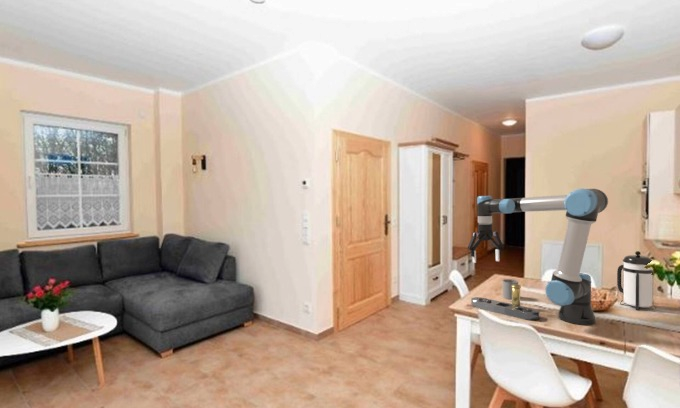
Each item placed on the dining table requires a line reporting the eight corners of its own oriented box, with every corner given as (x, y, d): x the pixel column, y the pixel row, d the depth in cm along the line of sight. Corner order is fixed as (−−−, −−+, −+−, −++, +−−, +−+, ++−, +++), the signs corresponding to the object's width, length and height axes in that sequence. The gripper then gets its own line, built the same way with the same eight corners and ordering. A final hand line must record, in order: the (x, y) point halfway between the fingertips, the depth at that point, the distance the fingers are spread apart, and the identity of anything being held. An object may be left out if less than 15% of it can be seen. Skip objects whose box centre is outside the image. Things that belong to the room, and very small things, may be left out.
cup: (500, 297, 215) (500, 281, 215) (505, 294, 221) (505, 278, 221) (515, 300, 209) (515, 283, 209) (520, 297, 215) (520, 280, 215)
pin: (522, 307, 197) (522, 285, 196) (518, 309, 194) (518, 287, 193) (513, 305, 200) (513, 284, 200) (509, 307, 197) (509, 285, 197)
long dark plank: (542, 317, 181) (542, 309, 181) (535, 321, 175) (535, 313, 175) (476, 302, 207) (476, 295, 207) (468, 305, 202) (468, 298, 201)
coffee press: (657, 306, 194) (658, 250, 193) (654, 313, 183) (655, 254, 182) (617, 299, 207) (617, 247, 206) (612, 306, 196) (612, 251, 195)
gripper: (502, 222, 206) (503, 259, 206) (460, 224, 203) (461, 261, 204) (510, 223, 199) (511, 261, 199) (466, 225, 196) (467, 264, 196)
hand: (486, 261), depth 201 cm, fingers open, 13 cm apart
